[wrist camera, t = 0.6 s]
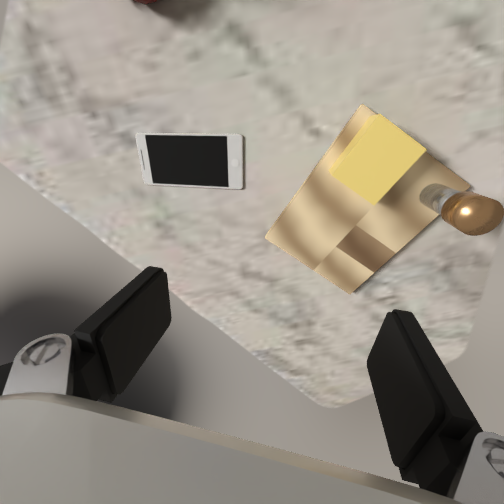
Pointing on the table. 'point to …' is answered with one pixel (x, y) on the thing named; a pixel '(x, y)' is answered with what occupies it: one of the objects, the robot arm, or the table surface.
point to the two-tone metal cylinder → (463, 208)
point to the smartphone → (191, 159)
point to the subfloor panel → (355, 216)
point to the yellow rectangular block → (376, 158)
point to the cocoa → (145, 1)
